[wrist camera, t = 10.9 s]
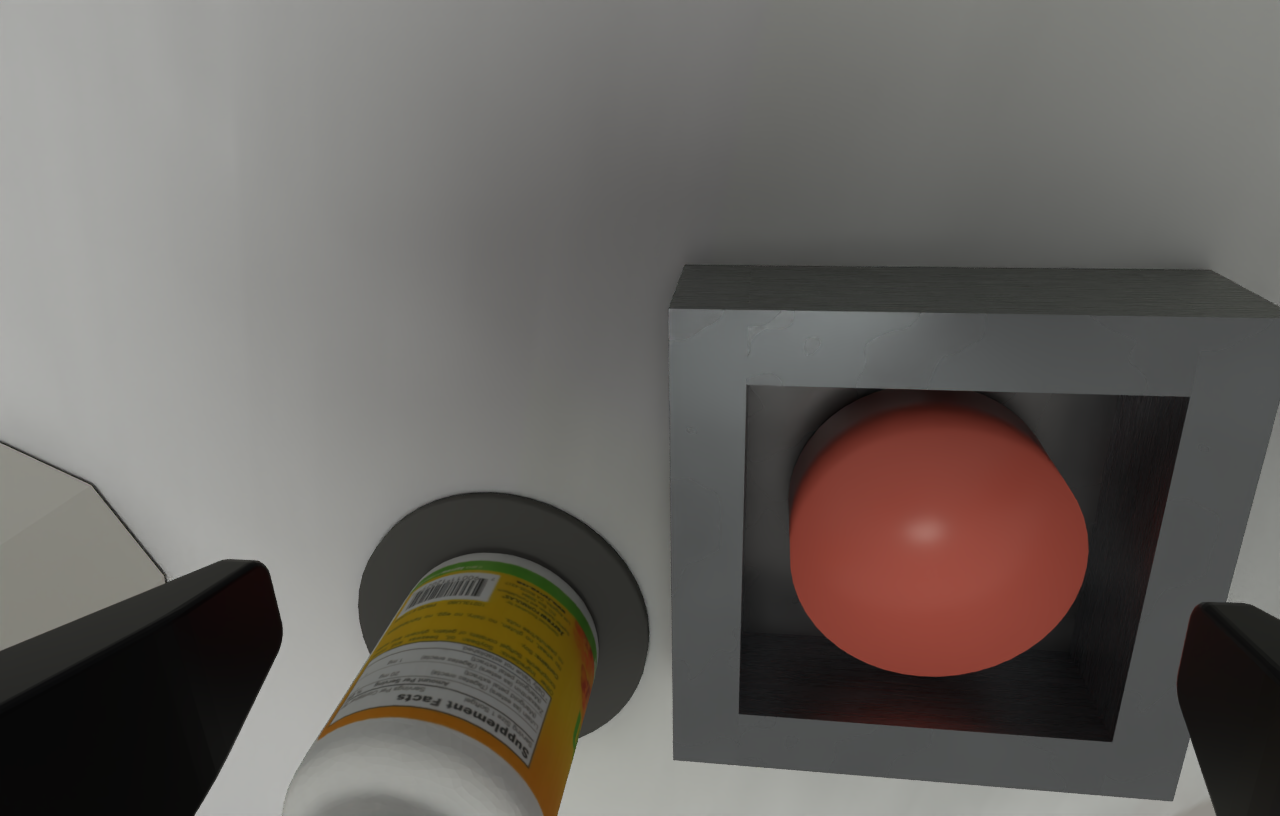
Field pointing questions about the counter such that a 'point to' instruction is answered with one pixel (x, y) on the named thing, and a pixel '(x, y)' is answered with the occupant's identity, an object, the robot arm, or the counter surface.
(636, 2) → the counter surface
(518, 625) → the supplement bottle
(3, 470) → the toilet paper
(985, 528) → the button
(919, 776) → the grey square tray
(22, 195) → the counter surface
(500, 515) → the coaster
